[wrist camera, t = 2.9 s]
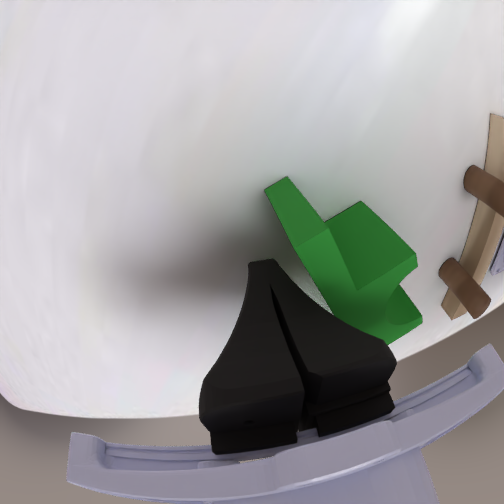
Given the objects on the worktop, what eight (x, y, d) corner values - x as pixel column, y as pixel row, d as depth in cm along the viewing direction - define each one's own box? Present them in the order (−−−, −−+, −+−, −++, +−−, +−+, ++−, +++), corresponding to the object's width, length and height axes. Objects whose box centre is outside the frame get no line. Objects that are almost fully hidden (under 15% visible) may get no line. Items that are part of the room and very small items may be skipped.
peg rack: (503, 118, 10) (554, 141, 6) (455, 299, 19) (481, 335, 15) (471, 107, 9) (533, 131, 6) (422, 313, 18) (449, 353, 15)
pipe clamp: (390, 295, 17) (423, 346, 13) (343, 323, 17) (369, 378, 13) (338, 145, 10) (405, 185, 7) (263, 188, 11) (294, 251, 7)
